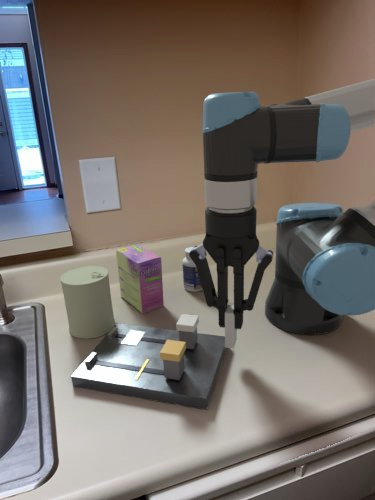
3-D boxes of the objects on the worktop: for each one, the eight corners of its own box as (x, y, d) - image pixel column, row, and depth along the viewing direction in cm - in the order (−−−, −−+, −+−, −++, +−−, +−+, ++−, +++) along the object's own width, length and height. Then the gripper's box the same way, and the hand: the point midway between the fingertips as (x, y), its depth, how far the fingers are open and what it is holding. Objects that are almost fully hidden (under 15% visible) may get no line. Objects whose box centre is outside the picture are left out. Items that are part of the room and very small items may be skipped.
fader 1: (187, 367, 61) (185, 341, 59) (180, 381, 58) (179, 355, 56) (169, 365, 62) (167, 339, 60) (162, 378, 59) (159, 352, 57)
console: (227, 346, 70) (227, 331, 69) (206, 409, 55) (206, 393, 54) (117, 331, 76) (115, 318, 75) (72, 386, 61) (70, 370, 60)
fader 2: (199, 339, 68) (198, 315, 66) (194, 350, 65) (193, 326, 63) (183, 337, 69) (182, 313, 67) (177, 348, 66) (176, 324, 64)
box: (165, 305, 85) (161, 256, 81) (142, 314, 82) (137, 263, 78) (142, 289, 93) (137, 243, 89) (120, 296, 90) (115, 249, 86)
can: (104, 340, 73) (96, 283, 69) (60, 337, 75) (49, 281, 71) (121, 315, 82) (115, 263, 77) (81, 313, 83) (73, 262, 79)
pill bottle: (198, 294, 89) (197, 255, 86) (179, 289, 92) (177, 251, 88) (210, 285, 93) (209, 247, 90) (191, 280, 96) (189, 244, 93)
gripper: (278, 201, 58) (272, 335, 66) (194, 199, 61) (199, 326, 70) (274, 214, 51) (268, 362, 59) (180, 211, 54) (187, 351, 63)
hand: (230, 343), depth 64 cm, fingers closed
